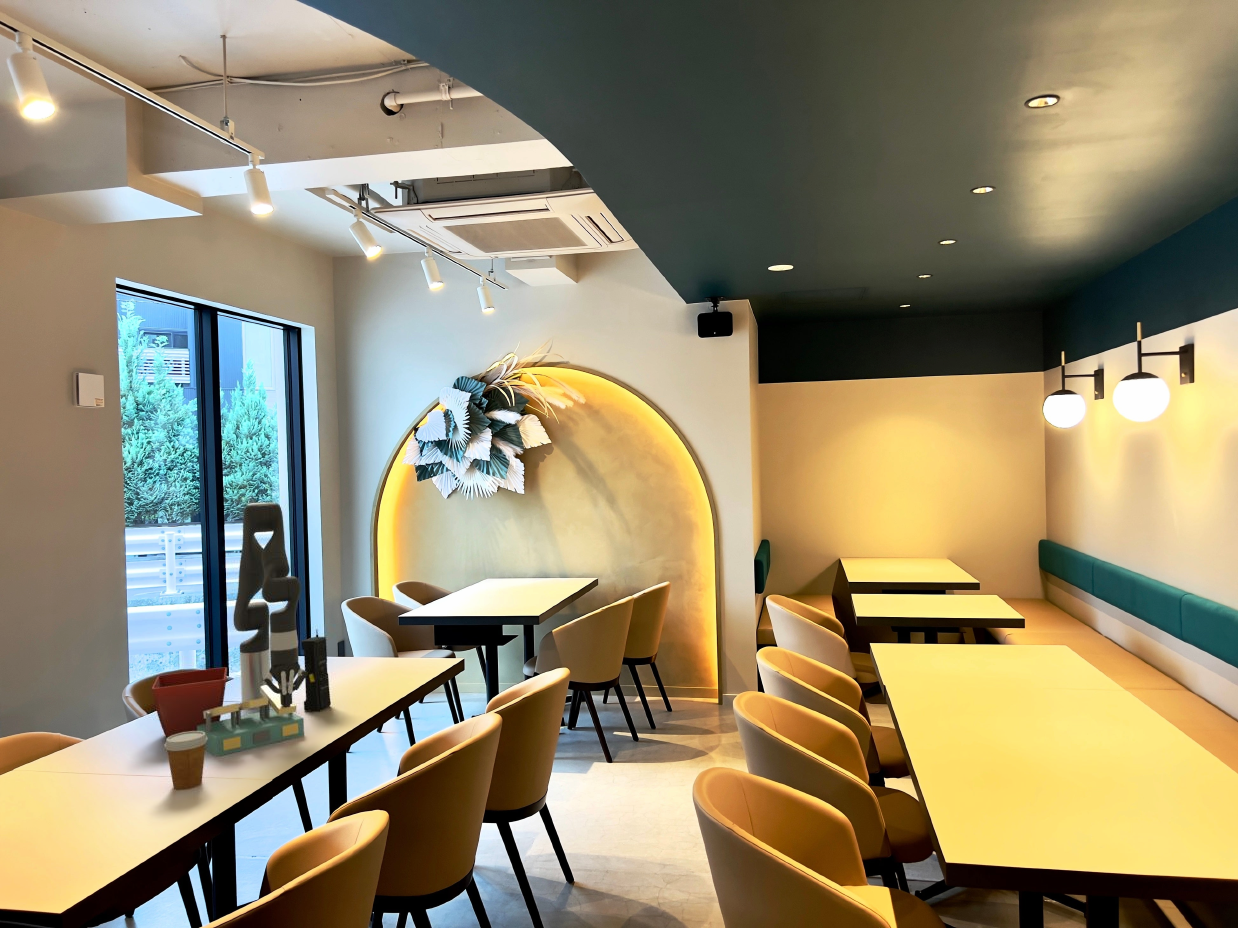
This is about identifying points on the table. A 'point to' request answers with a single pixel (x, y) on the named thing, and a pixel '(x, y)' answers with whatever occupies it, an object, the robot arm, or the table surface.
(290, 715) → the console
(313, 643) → the portable radio
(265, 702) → the rocker
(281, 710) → the rocker
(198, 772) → the disposable coffee cup
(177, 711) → the plant pot
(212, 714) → the rocker
